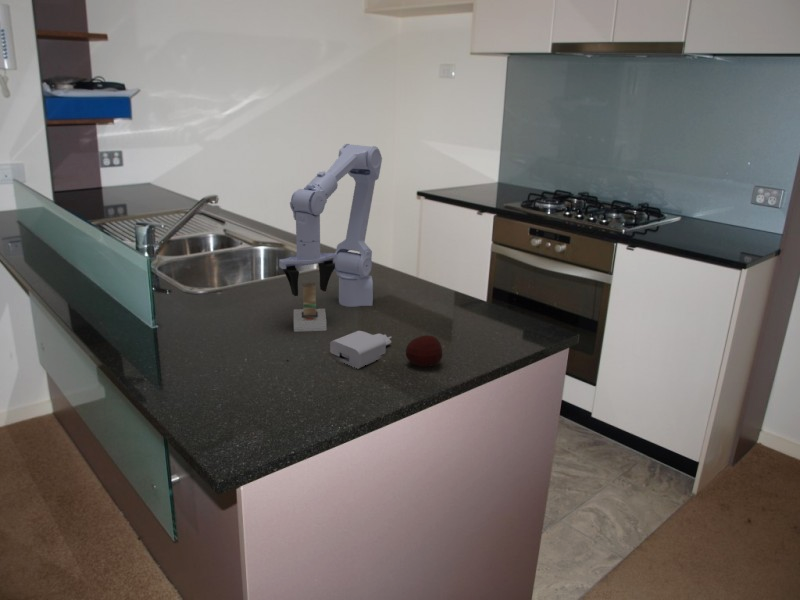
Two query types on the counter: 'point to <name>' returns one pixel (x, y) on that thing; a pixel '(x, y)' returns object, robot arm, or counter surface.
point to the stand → (309, 321)
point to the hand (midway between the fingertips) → (309, 292)
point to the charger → (359, 348)
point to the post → (309, 299)
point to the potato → (424, 351)
